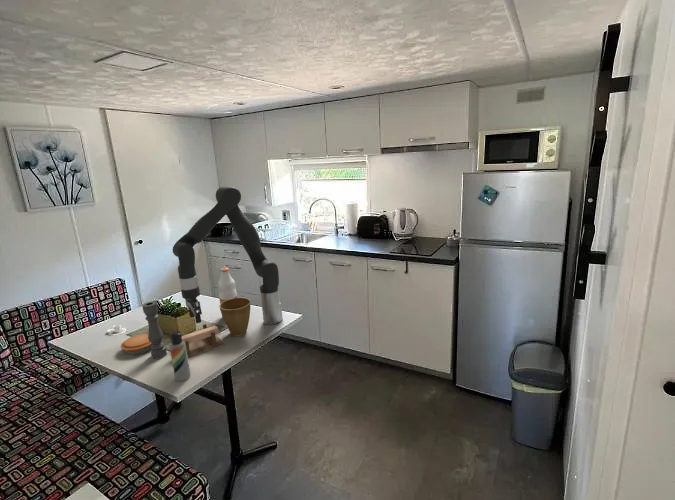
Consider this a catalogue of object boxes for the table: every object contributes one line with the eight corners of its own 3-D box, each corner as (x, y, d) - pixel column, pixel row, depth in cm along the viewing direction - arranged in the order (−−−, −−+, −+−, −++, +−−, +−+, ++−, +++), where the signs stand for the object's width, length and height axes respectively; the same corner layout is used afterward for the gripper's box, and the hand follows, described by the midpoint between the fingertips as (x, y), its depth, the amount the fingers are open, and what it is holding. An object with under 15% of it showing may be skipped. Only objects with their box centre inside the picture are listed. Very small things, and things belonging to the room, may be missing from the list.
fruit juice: (219, 317, 200) (212, 269, 194) (234, 311, 207) (228, 265, 200) (227, 321, 194) (220, 272, 187) (242, 316, 200) (236, 268, 193)
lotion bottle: (178, 374, 147) (170, 329, 142) (192, 372, 148) (185, 328, 143) (173, 382, 142) (164, 336, 137) (188, 380, 142) (180, 334, 137)
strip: (216, 331, 172) (215, 325, 172) (218, 333, 170) (218, 327, 169) (177, 344, 162) (175, 338, 161) (179, 346, 159) (178, 340, 158)
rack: (213, 334, 181) (211, 321, 179) (224, 344, 170) (222, 330, 168) (171, 348, 169) (169, 334, 167) (180, 359, 158) (177, 345, 156)
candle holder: (151, 360, 159) (141, 307, 153) (151, 354, 164) (141, 303, 158) (167, 356, 161) (157, 304, 155) (166, 350, 167) (157, 300, 161)
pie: (163, 347, 170) (161, 337, 169) (127, 360, 160) (125, 350, 159) (152, 337, 181) (150, 328, 180) (118, 349, 171) (116, 339, 169)
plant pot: (221, 330, 184) (216, 301, 180) (249, 323, 190) (246, 295, 186) (226, 343, 171) (222, 311, 167) (257, 334, 177) (253, 304, 173)
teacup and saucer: (104, 334, 187) (102, 327, 186) (118, 328, 194) (117, 321, 193) (116, 337, 184) (114, 329, 183) (130, 330, 191) (128, 323, 190)
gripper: (203, 287, 156) (209, 321, 160) (193, 280, 167) (198, 312, 171) (185, 292, 152) (192, 327, 156) (176, 284, 163) (182, 317, 167)
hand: (195, 319), depth 164 cm, fingers open, 8 cm apart
